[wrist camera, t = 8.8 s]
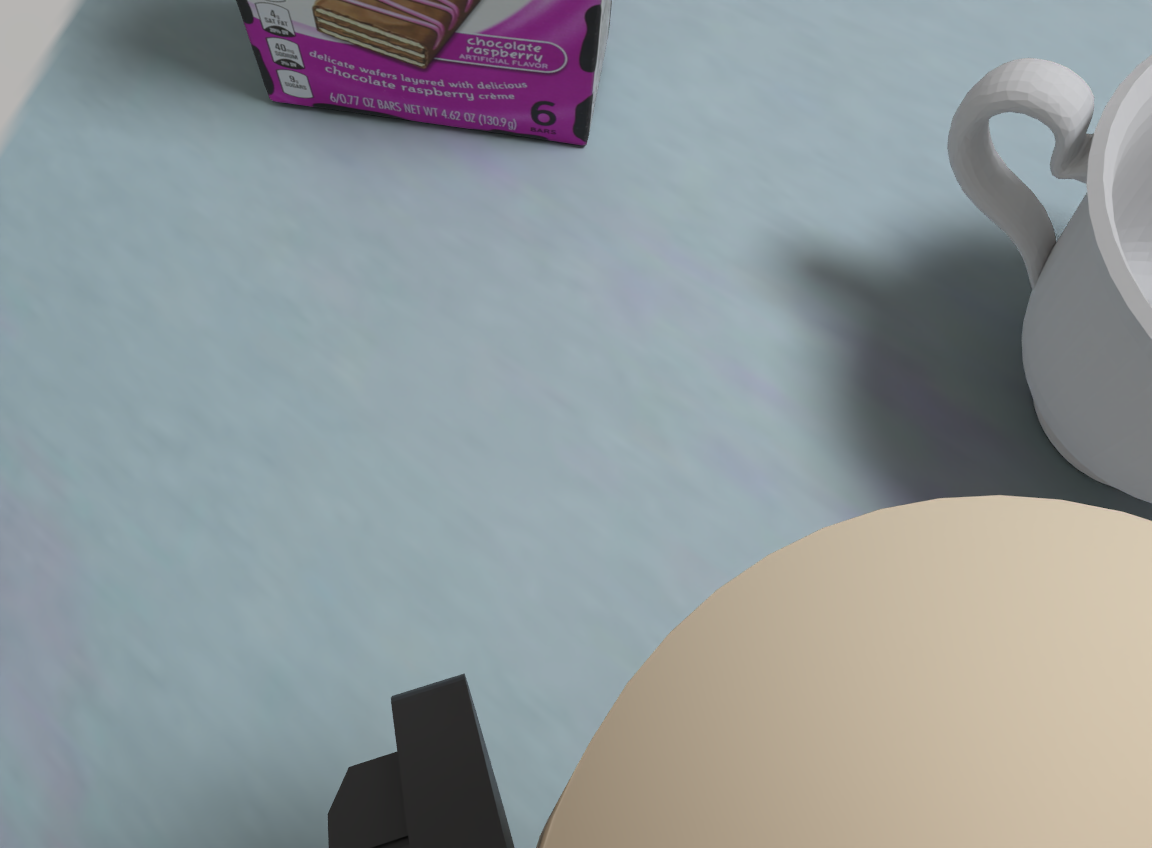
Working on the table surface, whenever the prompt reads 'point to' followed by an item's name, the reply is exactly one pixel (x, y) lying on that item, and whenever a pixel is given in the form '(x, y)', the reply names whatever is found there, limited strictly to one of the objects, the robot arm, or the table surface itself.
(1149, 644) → the peg
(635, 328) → the table surface
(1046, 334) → the teacup
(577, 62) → the candy bar box
